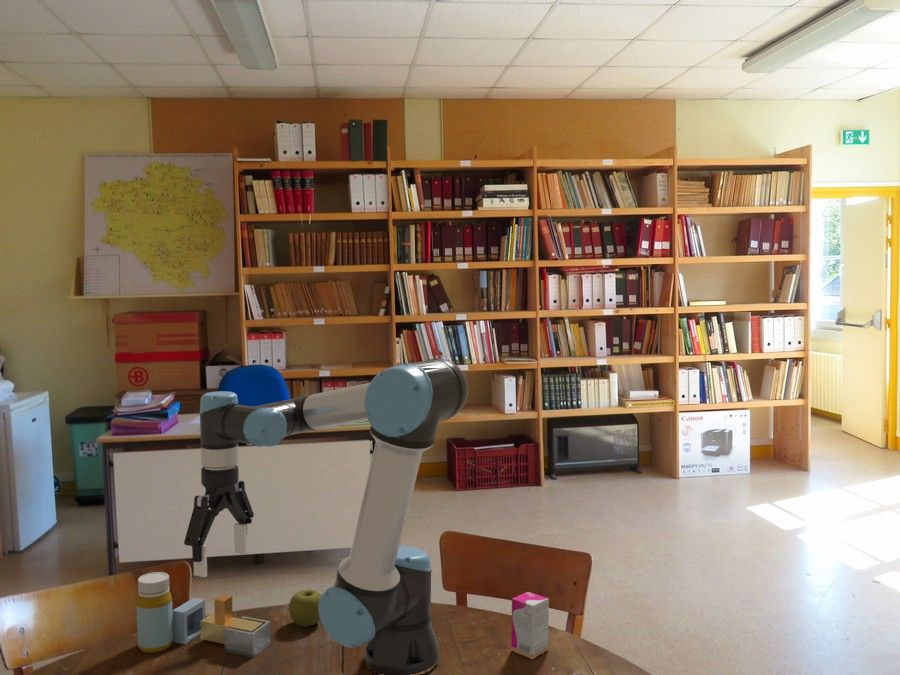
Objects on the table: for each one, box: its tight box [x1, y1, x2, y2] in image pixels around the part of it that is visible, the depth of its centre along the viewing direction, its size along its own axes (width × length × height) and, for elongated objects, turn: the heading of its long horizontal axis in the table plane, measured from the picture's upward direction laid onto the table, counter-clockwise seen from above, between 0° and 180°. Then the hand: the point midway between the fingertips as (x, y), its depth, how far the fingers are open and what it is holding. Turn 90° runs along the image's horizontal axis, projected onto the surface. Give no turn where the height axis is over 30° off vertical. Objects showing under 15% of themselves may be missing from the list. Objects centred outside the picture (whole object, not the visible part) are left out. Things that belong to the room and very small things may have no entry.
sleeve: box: [224, 616, 272, 659], centre depth 166 cm, size 7×6×5 cm
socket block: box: [172, 597, 207, 645], centre depth 171 cm, size 3×7×7 cm, turn 159°
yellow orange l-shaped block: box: [200, 594, 263, 645], centre depth 167 cm, size 13×4×9 cm, turn 69°
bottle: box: [136, 571, 174, 654], centre depth 166 cm, size 7×7×15 cm
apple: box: [288, 589, 322, 628], centre depth 177 cm, size 8×8×7 cm
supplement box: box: [510, 591, 550, 655], centre depth 164 cm, size 6×6×12 cm
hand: (221, 564), depth 167 cm, fingers open, 13 cm apart
